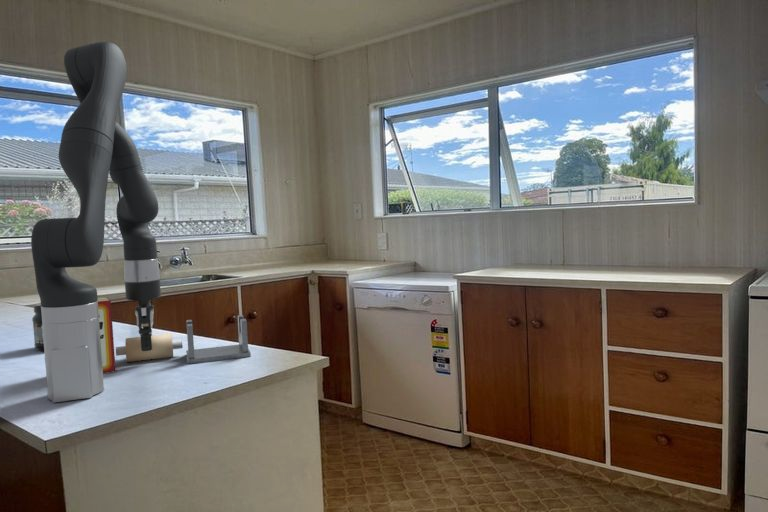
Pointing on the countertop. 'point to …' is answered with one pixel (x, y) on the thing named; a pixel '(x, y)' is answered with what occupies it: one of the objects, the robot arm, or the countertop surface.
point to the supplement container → (38, 328)
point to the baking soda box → (106, 334)
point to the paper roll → (160, 349)
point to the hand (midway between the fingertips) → (147, 346)
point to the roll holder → (218, 352)
